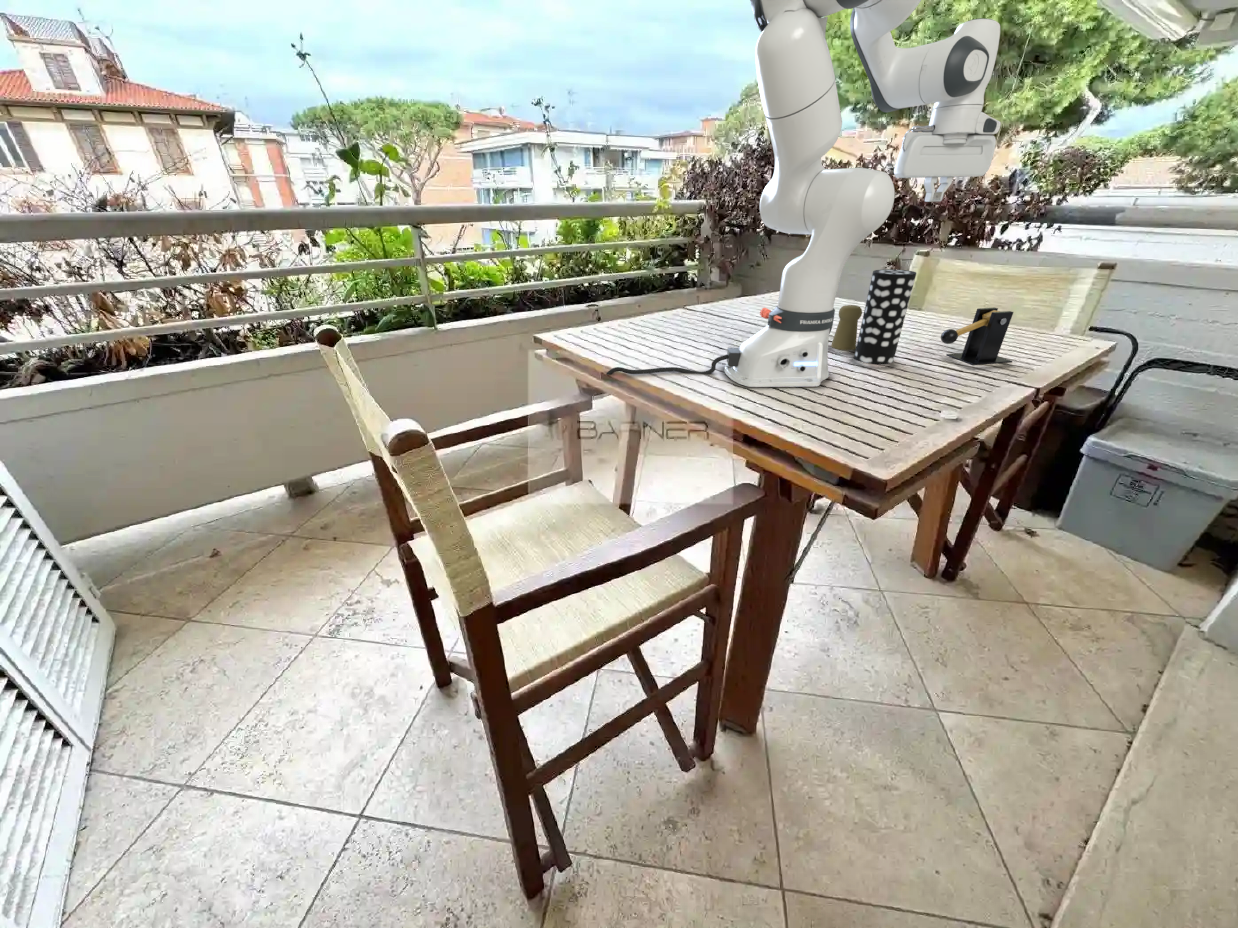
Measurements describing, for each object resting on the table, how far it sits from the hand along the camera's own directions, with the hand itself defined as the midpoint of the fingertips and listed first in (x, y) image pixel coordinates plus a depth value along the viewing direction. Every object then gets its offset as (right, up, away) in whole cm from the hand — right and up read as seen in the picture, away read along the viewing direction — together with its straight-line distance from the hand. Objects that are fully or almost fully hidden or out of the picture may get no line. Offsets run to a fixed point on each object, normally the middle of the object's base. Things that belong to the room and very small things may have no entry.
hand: (932, 201), depth 106 cm
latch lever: (+9, -29, +2) cm, 30 cm away
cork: (-13, -29, +16) cm, 36 cm away
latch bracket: (+14, -35, +5) cm, 37 cm away
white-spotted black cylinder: (-10, -34, +7) cm, 36 cm away
